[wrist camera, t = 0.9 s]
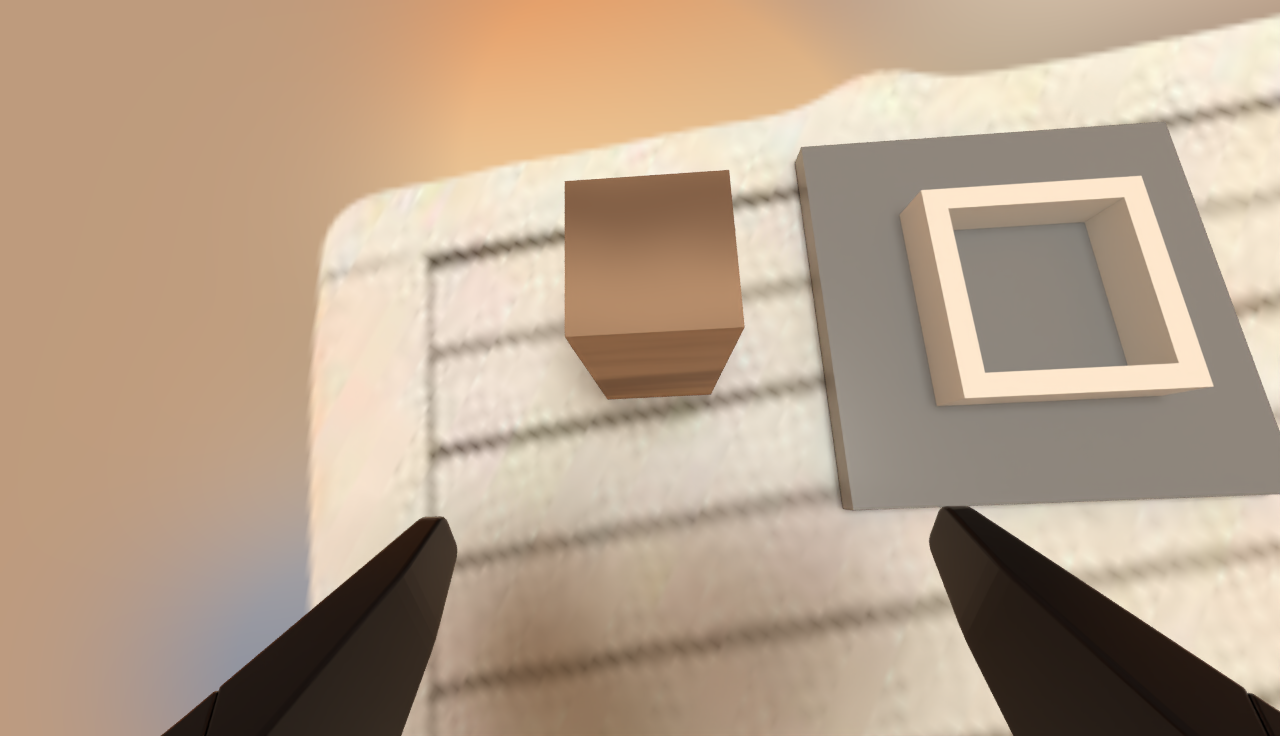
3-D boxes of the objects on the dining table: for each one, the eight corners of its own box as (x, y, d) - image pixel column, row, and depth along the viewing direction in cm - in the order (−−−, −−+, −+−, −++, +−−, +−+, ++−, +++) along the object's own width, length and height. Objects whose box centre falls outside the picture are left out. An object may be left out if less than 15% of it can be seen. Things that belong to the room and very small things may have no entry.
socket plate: (1265, 492, 20) (1374, 494, 17) (843, 508, 21) (873, 513, 18) (1141, 138, 25) (1210, 88, 21) (795, 162, 25) (813, 117, 22)
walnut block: (710, 394, 23) (744, 327, 13) (607, 399, 23) (565, 336, 13) (703, 297, 24) (729, 170, 14) (605, 303, 24) (564, 181, 14)
